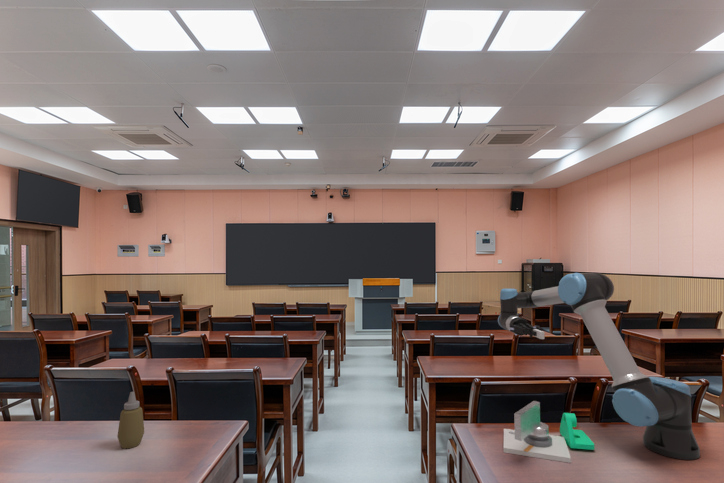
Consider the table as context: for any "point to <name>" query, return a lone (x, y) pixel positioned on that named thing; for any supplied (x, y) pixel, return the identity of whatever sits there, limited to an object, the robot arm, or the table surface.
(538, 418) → the brushed metal plate
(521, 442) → the post base
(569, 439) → the green mounting bracket
